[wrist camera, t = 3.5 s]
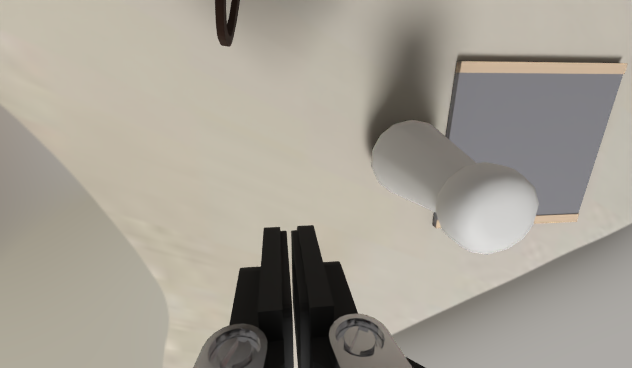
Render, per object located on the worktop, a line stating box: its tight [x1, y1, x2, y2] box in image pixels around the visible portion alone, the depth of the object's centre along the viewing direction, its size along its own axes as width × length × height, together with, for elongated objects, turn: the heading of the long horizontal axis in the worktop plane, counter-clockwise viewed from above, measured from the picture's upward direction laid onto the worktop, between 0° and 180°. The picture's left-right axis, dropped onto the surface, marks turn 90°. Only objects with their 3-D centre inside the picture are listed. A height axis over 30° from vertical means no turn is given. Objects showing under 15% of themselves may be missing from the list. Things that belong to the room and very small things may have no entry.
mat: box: [433, 61, 628, 228], centre depth 26 cm, size 14×14×1 cm
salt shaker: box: [371, 120, 539, 255], centre depth 19 cm, size 6×6×13 cm
